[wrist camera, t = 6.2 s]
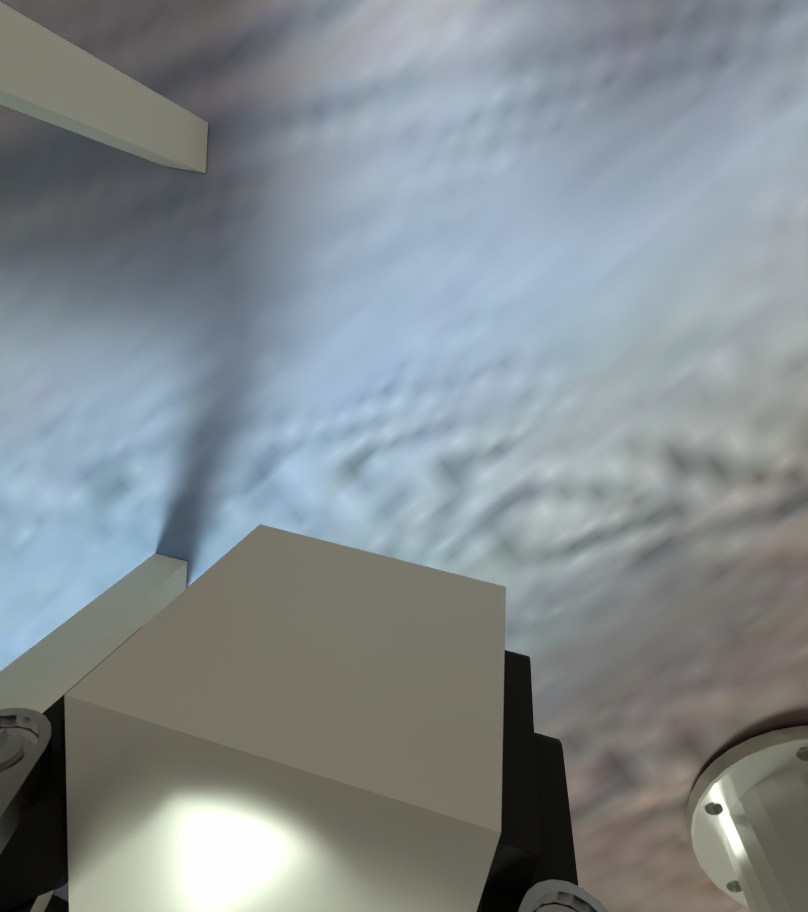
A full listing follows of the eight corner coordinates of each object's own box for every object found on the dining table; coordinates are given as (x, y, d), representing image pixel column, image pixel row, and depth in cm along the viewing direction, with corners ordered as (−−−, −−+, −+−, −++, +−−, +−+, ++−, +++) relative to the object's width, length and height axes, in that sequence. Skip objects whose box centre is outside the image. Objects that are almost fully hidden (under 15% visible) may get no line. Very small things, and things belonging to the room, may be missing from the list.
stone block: (505, 586, 10) (500, 832, 5) (453, 785, 12) (413, 1113, 7) (259, 524, 11) (64, 694, 6) (239, 720, 12) (70, 979, 8)
